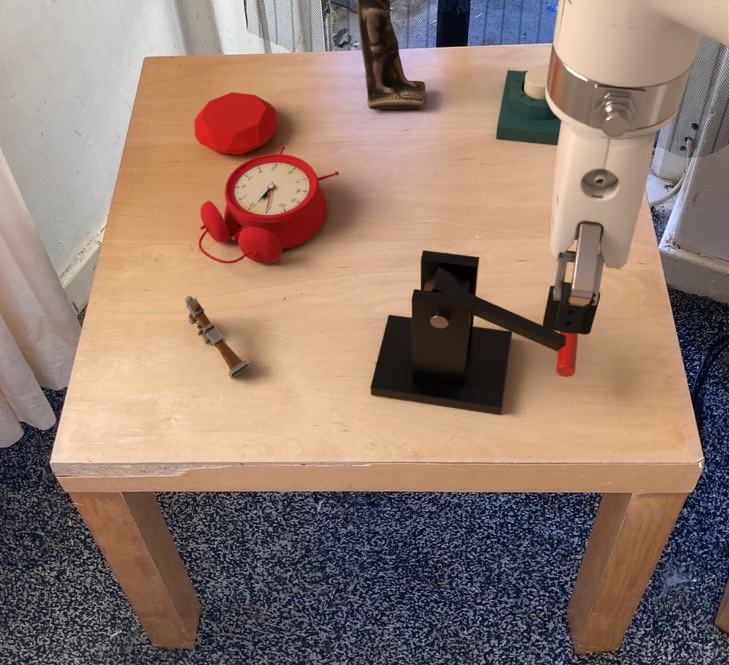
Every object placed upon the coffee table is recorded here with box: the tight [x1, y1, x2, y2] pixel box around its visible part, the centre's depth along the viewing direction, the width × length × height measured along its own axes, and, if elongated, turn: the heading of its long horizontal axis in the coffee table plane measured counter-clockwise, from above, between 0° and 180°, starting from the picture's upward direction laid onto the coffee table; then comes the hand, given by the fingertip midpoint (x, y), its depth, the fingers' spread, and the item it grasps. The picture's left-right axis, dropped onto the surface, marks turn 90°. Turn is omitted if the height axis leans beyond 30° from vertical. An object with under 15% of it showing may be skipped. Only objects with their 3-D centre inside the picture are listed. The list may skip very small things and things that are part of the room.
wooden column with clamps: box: [184, 295, 250, 379], centre depth 75 cm, size 2×8×4 cm, turn 40°
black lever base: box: [369, 249, 513, 416], centre depth 69 cm, size 11×8×12 cm
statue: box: [356, 0, 426, 111], centre depth 88 cm, size 4×7×20 cm, turn 89°
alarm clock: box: [197, 145, 340, 265], centre depth 83 cm, size 10×6×15 cm
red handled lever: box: [424, 267, 579, 378], centre depth 67 cm, size 13×5×2 cm, turn 78°
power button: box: [524, 65, 549, 100], centre depth 91 cm, size 4×4×2 cm
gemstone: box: [193, 91, 279, 156], centre depth 93 cm, size 9×9×3 cm
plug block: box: [495, 69, 562, 146], centre depth 92 cm, size 8×10×4 cm
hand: (570, 275), depth 61 cm, fingers open, 9 cm apart
